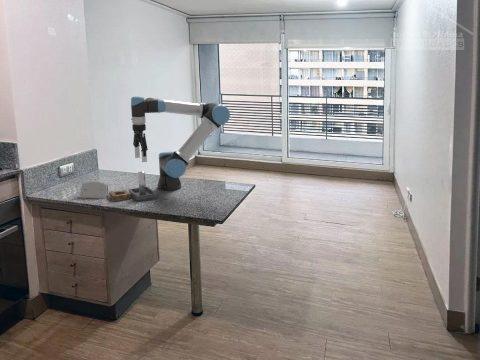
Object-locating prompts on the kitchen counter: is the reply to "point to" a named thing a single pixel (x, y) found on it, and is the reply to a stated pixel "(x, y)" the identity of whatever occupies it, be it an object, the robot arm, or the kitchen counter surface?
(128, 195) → the holder
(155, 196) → the tray
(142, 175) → the pin
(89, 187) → the grey upright slab
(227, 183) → the kitchen counter surface
